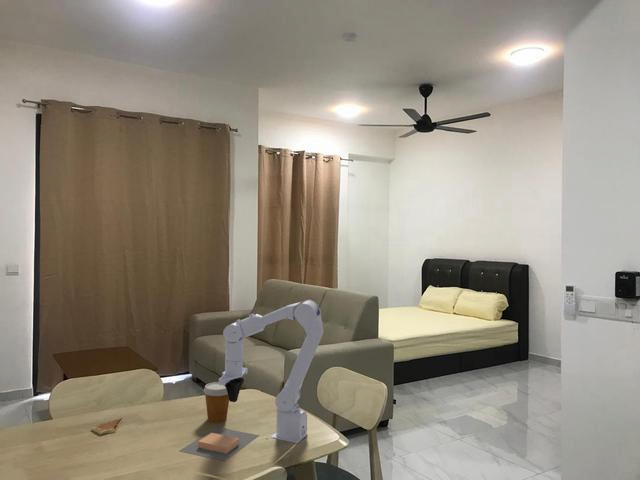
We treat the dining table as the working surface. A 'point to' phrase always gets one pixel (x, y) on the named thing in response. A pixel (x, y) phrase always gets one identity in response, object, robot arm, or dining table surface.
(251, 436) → the rubber mat
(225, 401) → the disposable coffee cup
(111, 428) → the pizza slice
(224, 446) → the terracotta tile
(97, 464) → the dining table surface
